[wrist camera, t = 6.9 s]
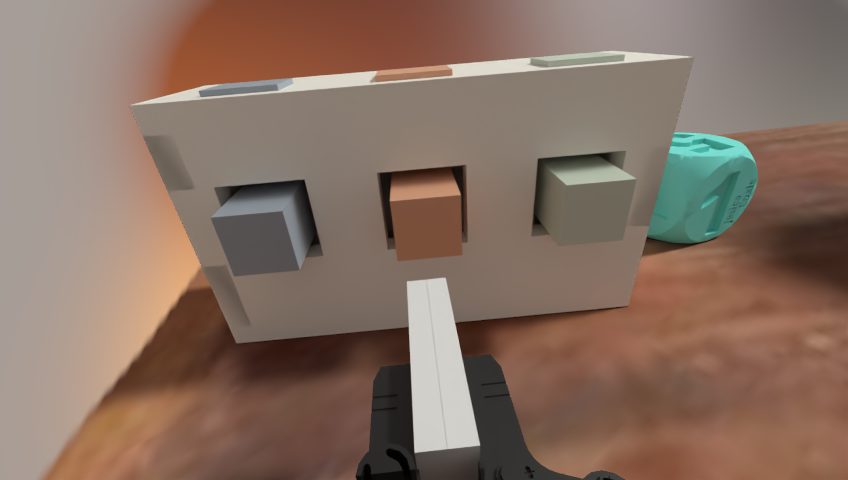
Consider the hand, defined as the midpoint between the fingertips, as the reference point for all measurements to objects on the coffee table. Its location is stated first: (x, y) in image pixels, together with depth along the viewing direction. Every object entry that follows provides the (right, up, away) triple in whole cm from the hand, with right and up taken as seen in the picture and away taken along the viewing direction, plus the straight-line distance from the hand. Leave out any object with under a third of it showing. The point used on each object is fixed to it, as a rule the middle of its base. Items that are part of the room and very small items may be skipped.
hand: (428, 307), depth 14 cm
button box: (0, -1, +15) cm, 15 cm away
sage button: (+9, +4, +8) cm, 13 cm away
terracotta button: (0, +3, +8) cm, 8 cm away
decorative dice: (+24, +4, +22) cm, 32 cm away
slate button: (-9, +2, +8) cm, 12 cm away
